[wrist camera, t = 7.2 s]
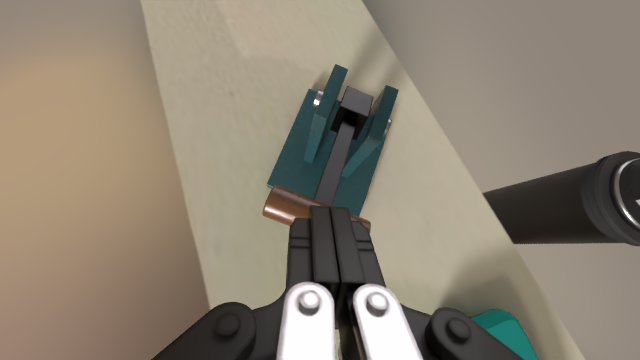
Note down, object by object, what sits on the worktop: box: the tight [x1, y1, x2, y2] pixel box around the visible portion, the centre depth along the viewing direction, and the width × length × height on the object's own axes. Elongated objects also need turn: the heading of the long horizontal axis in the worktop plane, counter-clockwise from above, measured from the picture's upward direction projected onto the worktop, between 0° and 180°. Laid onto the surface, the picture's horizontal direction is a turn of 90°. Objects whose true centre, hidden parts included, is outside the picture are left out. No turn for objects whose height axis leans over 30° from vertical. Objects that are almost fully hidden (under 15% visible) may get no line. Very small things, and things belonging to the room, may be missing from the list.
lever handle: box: [263, 86, 373, 234], centre depth 18 cm, size 12×6×2 cm, turn 158°
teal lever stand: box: [267, 64, 398, 217], centre depth 25 cm, size 12×10×12 cm
